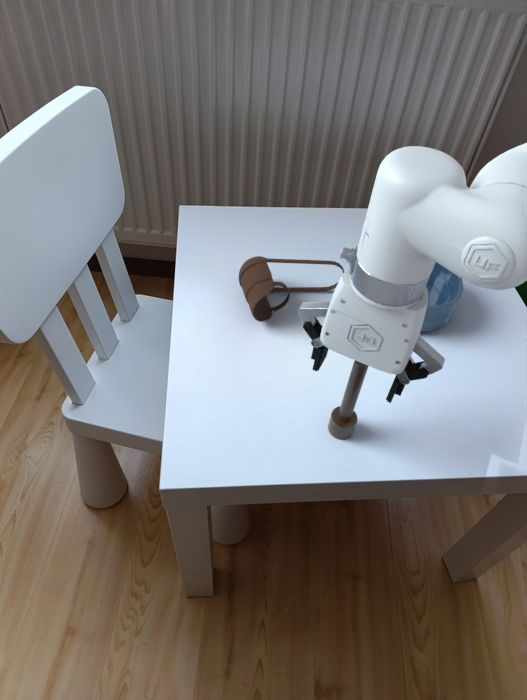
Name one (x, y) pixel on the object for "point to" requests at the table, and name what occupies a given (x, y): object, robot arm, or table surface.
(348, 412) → the stirring stick
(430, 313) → the bowl
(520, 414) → the table surface
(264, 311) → the brown barrel bag
